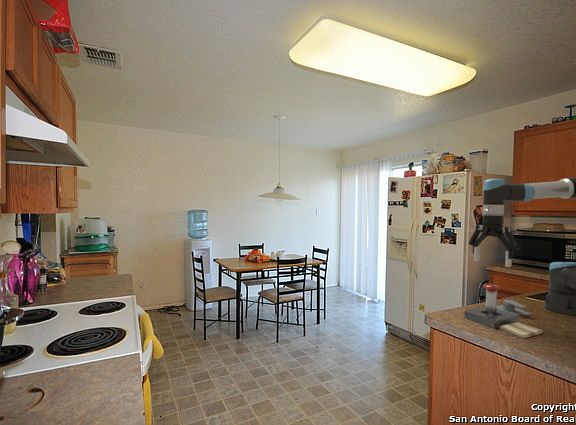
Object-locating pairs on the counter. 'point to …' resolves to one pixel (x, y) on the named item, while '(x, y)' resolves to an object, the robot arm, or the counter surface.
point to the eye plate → (491, 317)
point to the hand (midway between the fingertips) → (491, 263)
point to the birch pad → (521, 329)
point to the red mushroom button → (491, 299)
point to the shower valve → (513, 308)
